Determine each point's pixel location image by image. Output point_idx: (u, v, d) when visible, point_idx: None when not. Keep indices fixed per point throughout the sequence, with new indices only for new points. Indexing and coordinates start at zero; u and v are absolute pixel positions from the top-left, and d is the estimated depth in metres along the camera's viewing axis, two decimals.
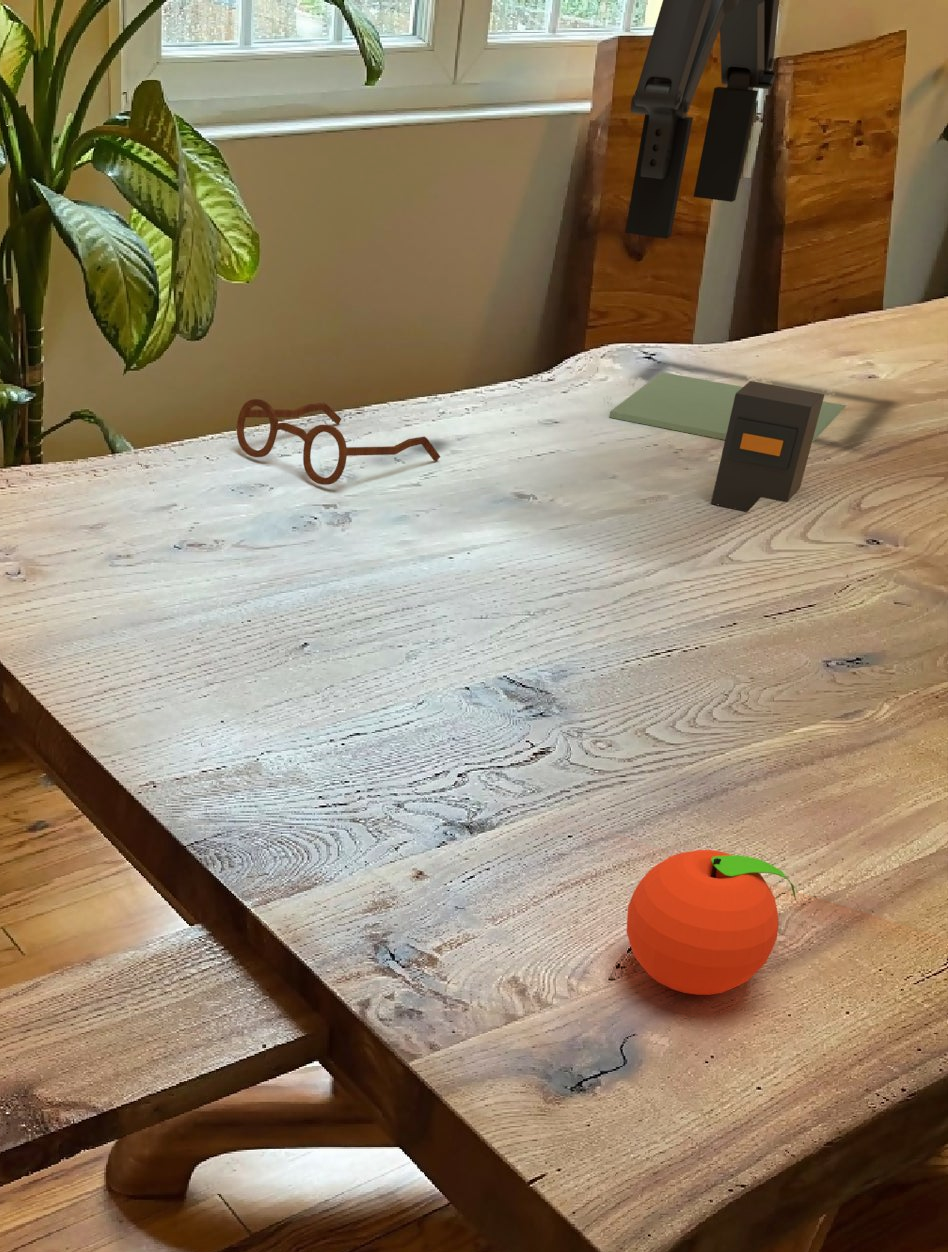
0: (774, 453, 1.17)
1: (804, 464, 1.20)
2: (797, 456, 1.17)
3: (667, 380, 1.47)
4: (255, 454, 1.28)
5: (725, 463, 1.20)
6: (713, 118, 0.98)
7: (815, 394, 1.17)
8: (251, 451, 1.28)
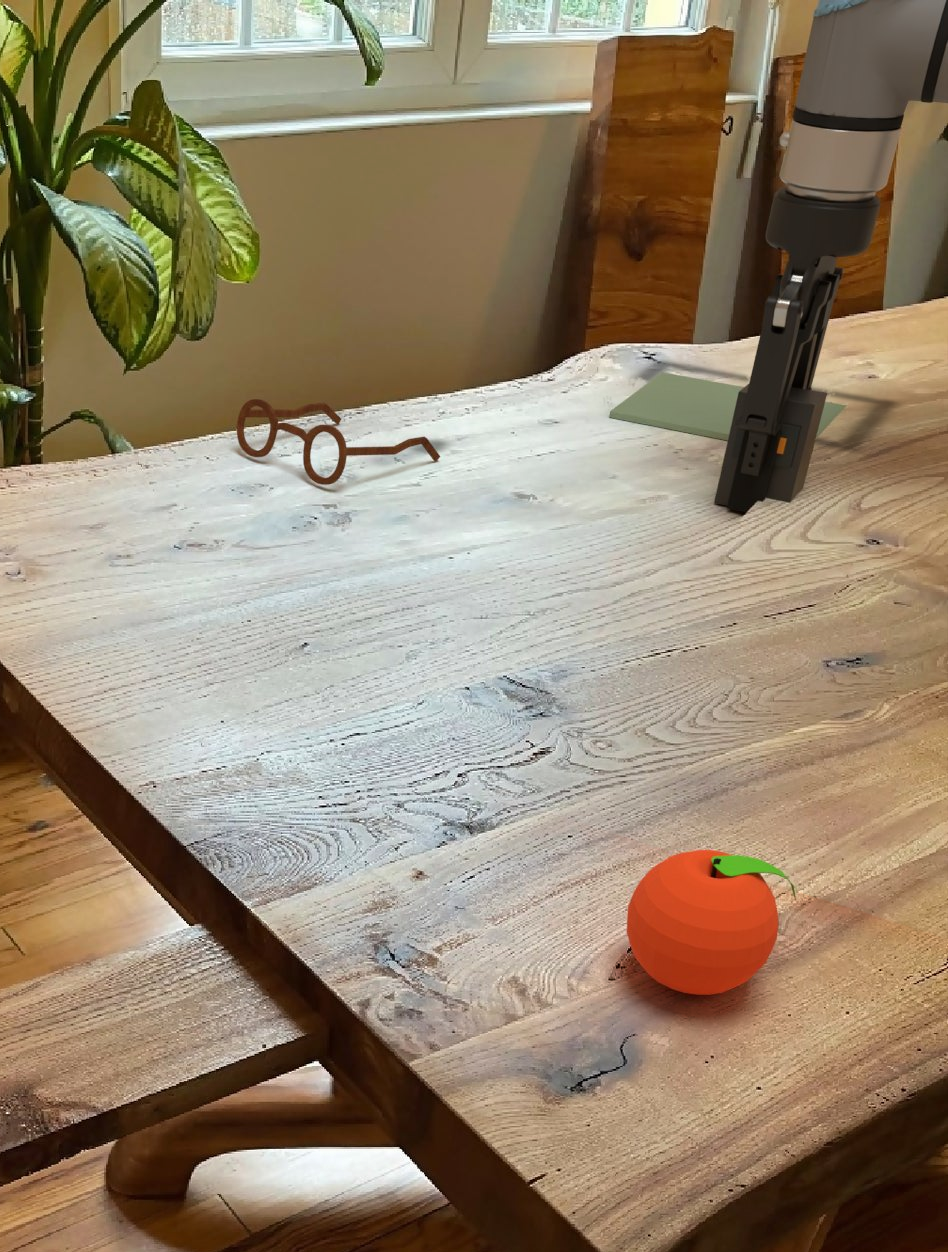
0: (777, 451, 1.17)
1: (807, 463, 1.20)
2: (800, 454, 1.17)
3: (667, 380, 1.47)
4: (255, 454, 1.28)
5: (728, 462, 1.20)
6: None
7: (818, 393, 1.17)
8: (251, 451, 1.28)
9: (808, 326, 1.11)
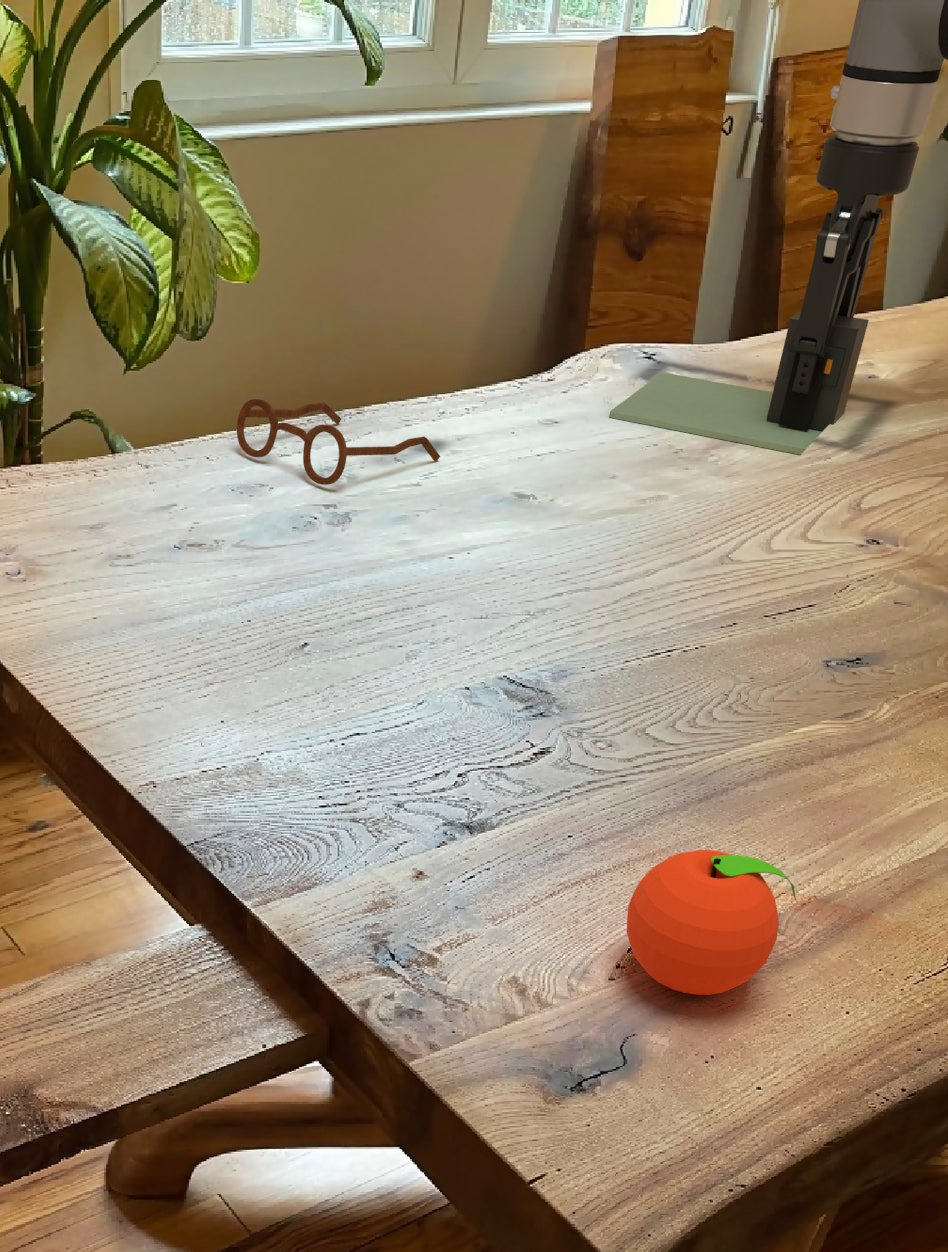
0: (824, 371, 1.32)
1: (850, 383, 1.35)
2: (845, 374, 1.32)
3: (667, 380, 1.47)
4: (255, 454, 1.28)
5: (780, 382, 1.35)
6: None
7: (860, 319, 1.32)
8: (251, 451, 1.28)
9: (854, 258, 1.26)
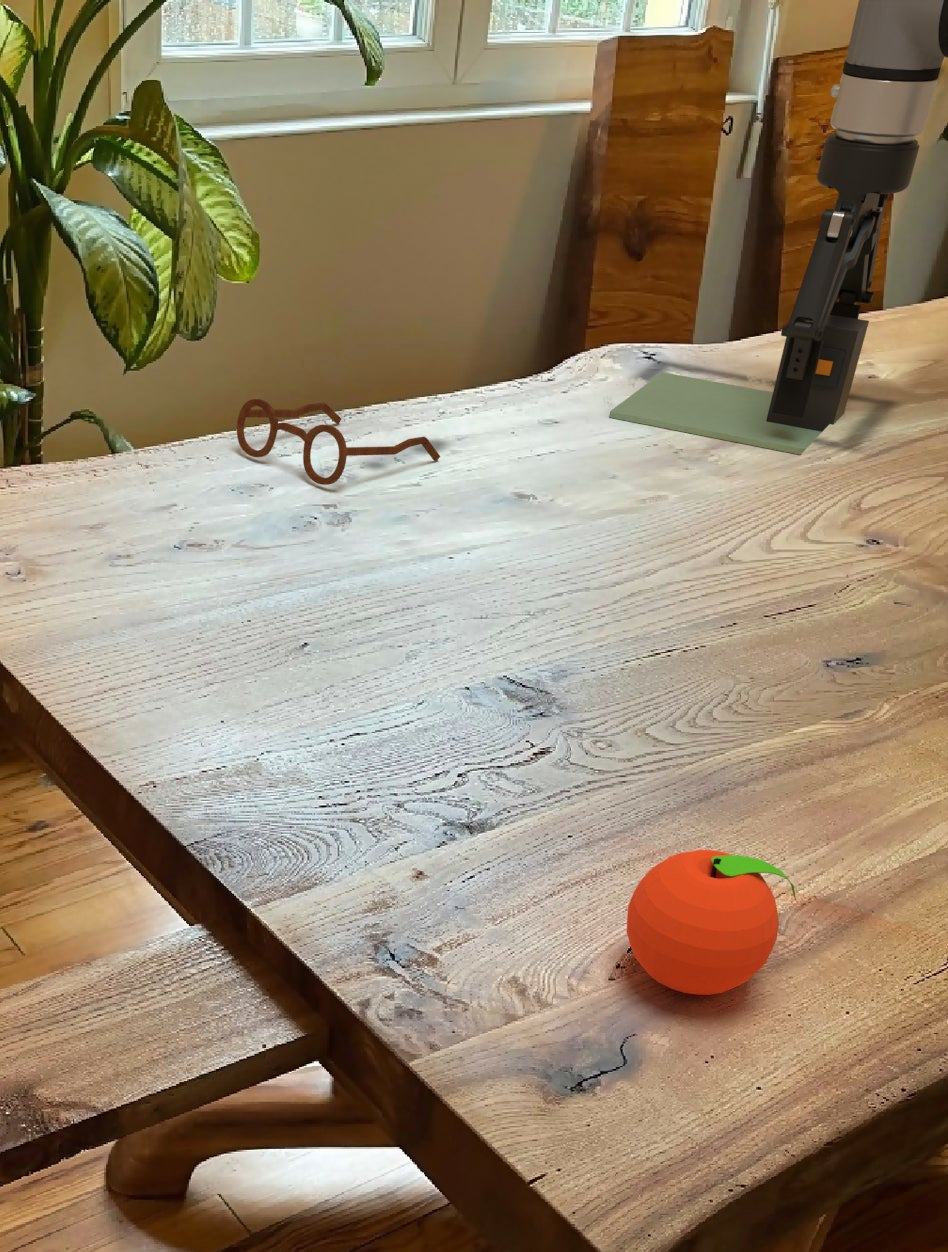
0: (824, 373, 1.32)
1: (850, 384, 1.35)
2: (845, 375, 1.32)
3: (667, 380, 1.47)
4: (255, 453, 1.28)
5: None
6: None
7: (861, 321, 1.32)
8: (251, 451, 1.28)
9: (854, 248, 1.25)
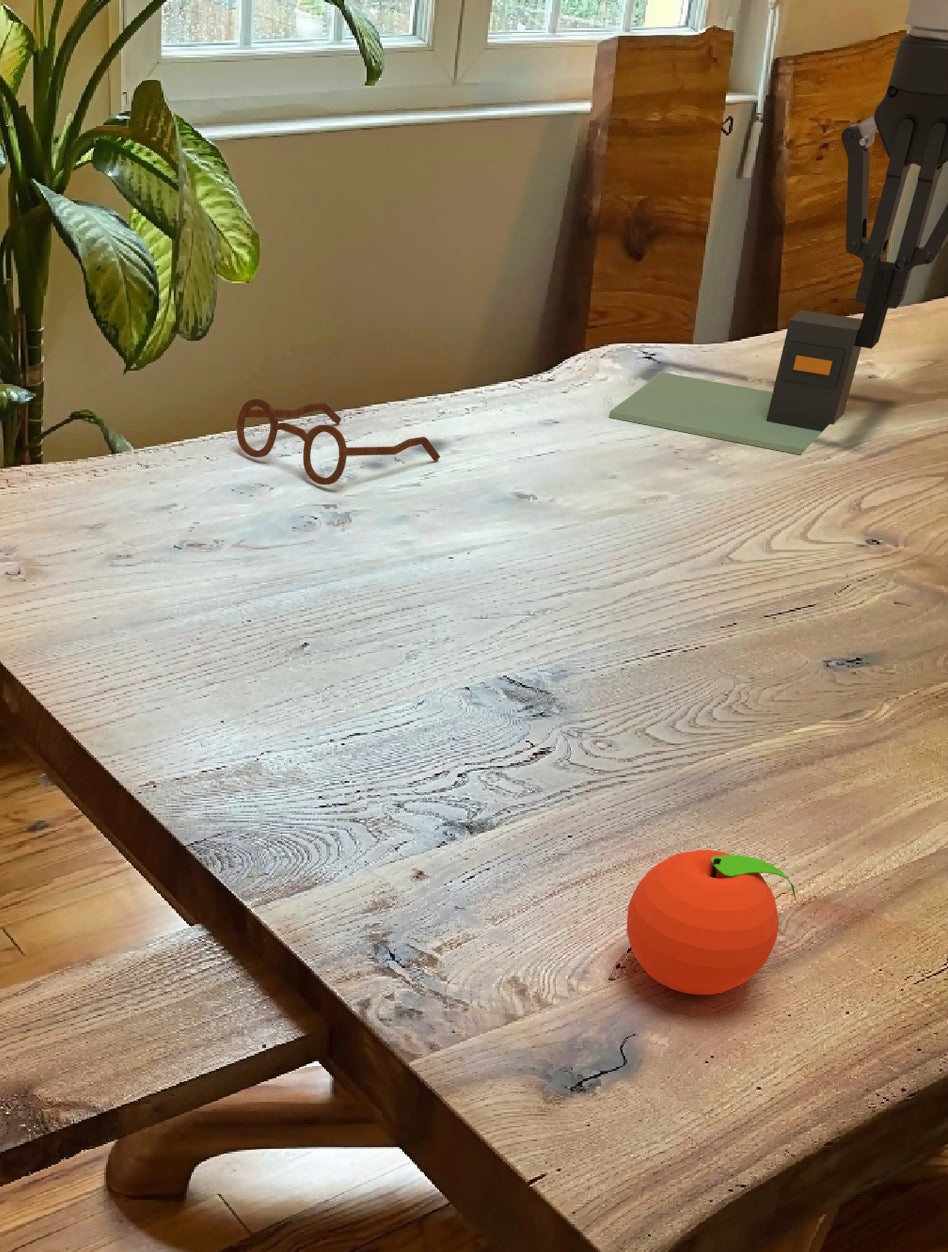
0: (824, 372, 1.32)
1: (850, 384, 1.35)
2: (844, 375, 1.32)
3: (667, 380, 1.47)
4: (255, 454, 1.28)
5: (779, 383, 1.35)
6: None
7: (860, 320, 1.32)
8: (251, 451, 1.28)
9: None
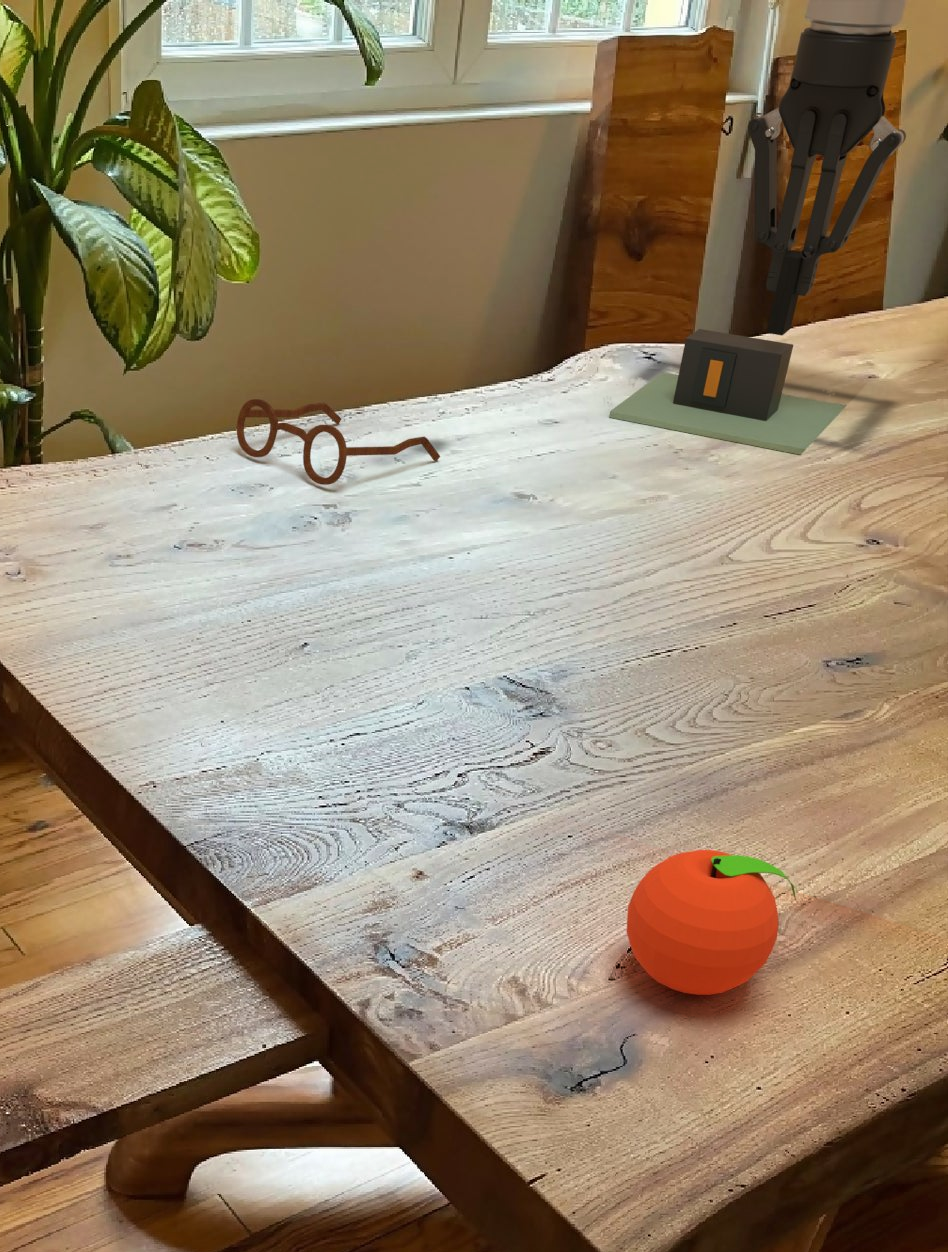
0: (720, 366, 1.37)
1: (753, 339, 1.38)
2: (726, 346, 1.36)
3: (667, 380, 1.47)
4: (255, 453, 1.28)
5: (730, 409, 1.39)
6: None
7: None
8: (251, 451, 1.28)
9: None
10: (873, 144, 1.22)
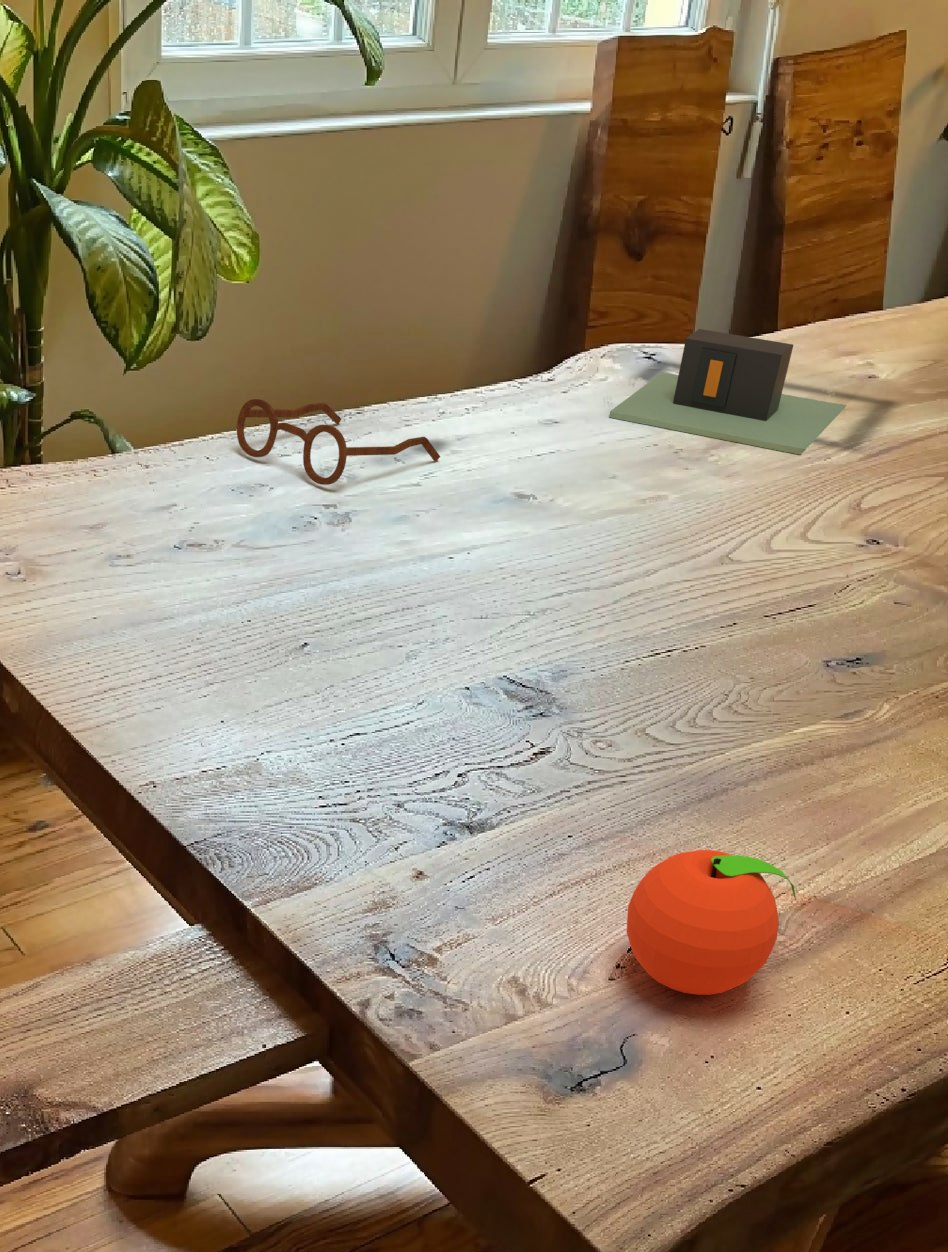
0: (720, 366, 1.37)
1: (753, 339, 1.38)
2: (726, 346, 1.36)
3: (667, 380, 1.47)
4: (255, 453, 1.28)
5: (730, 409, 1.39)
6: None
7: None
8: (251, 451, 1.28)
9: None
10: None
